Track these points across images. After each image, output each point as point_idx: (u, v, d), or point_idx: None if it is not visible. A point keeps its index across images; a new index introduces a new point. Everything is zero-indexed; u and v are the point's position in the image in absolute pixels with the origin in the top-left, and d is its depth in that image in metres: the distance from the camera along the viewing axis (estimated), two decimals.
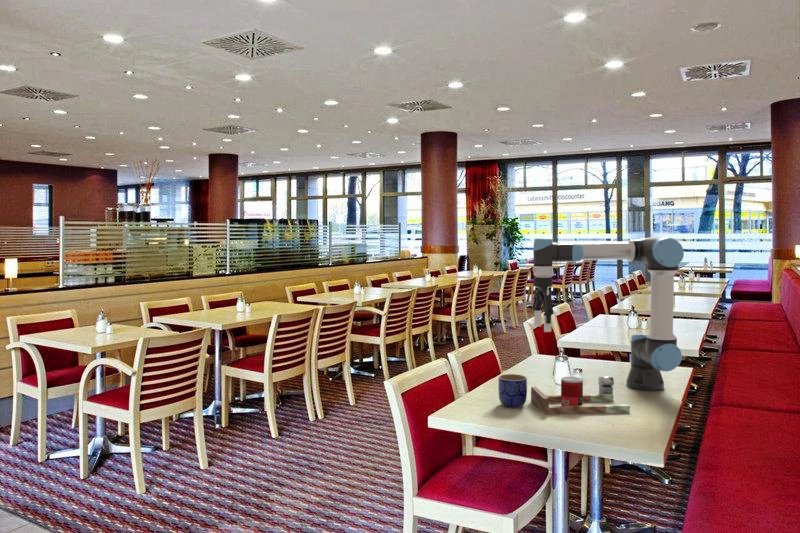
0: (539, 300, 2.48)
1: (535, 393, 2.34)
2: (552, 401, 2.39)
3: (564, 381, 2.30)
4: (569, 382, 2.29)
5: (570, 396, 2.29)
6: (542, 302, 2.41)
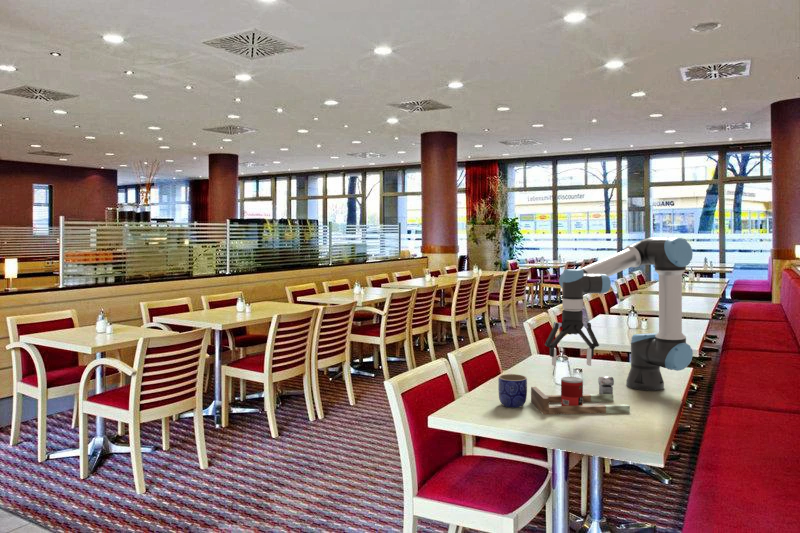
0: (580, 335, 2.31)
1: (535, 393, 2.34)
2: (552, 401, 2.39)
3: (564, 381, 2.30)
4: (569, 382, 2.29)
5: (570, 396, 2.29)
6: None
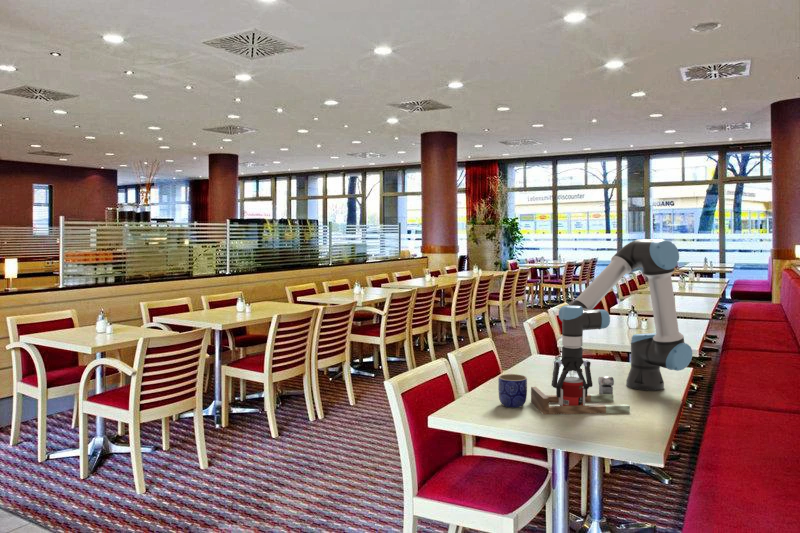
0: (577, 373, 2.32)
1: (535, 393, 2.34)
2: (552, 401, 2.39)
3: (564, 381, 2.30)
4: (569, 382, 2.29)
5: (570, 396, 2.29)
6: None
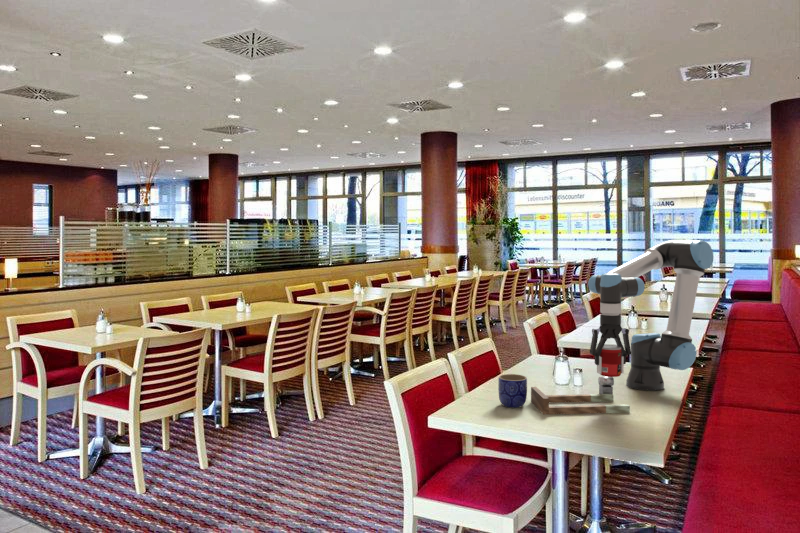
0: (616, 341, 2.32)
1: (535, 393, 2.34)
2: (552, 401, 2.39)
3: (603, 348, 2.30)
4: (608, 349, 2.29)
5: (609, 363, 2.29)
6: None
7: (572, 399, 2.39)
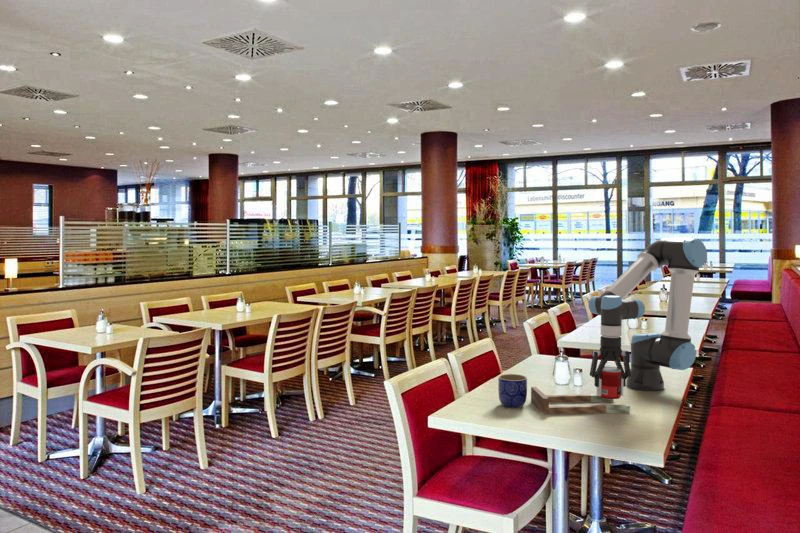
0: (616, 363, 2.33)
1: (535, 393, 2.34)
2: (552, 401, 2.39)
3: (603, 370, 2.31)
4: (608, 371, 2.29)
5: (609, 385, 2.29)
6: None
7: (572, 399, 2.39)
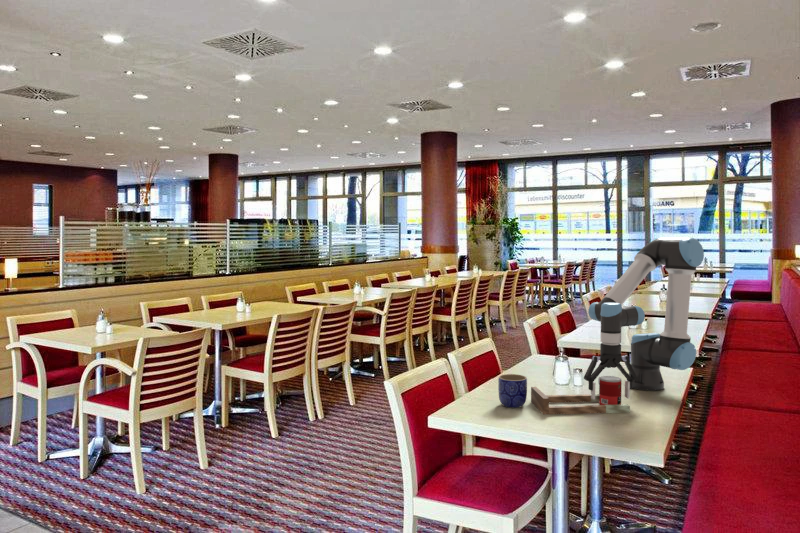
0: (619, 368, 2.33)
1: (535, 393, 2.34)
2: (552, 401, 2.39)
3: (603, 380, 2.31)
4: (608, 381, 2.29)
5: (609, 395, 2.30)
6: None
7: (572, 399, 2.39)
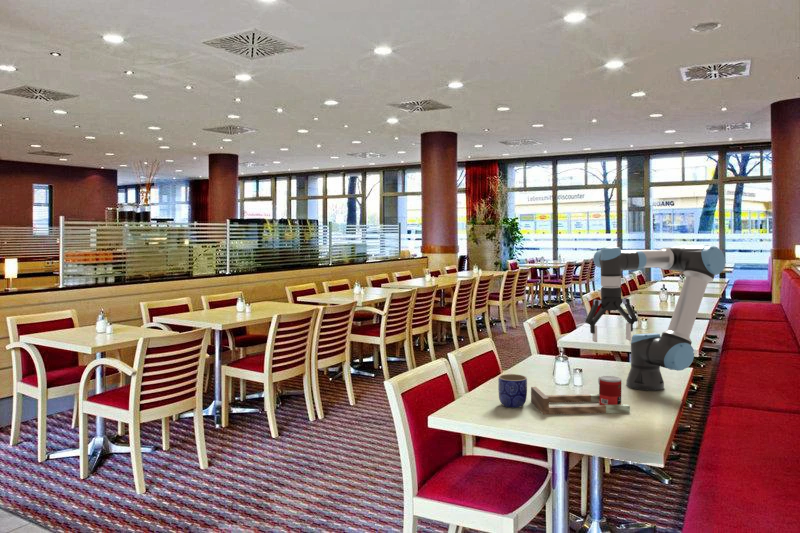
0: (619, 311, 2.37)
1: (535, 393, 2.34)
2: (552, 401, 2.39)
3: (603, 380, 2.31)
4: (608, 381, 2.29)
5: (609, 395, 2.30)
6: None
7: (572, 399, 2.39)
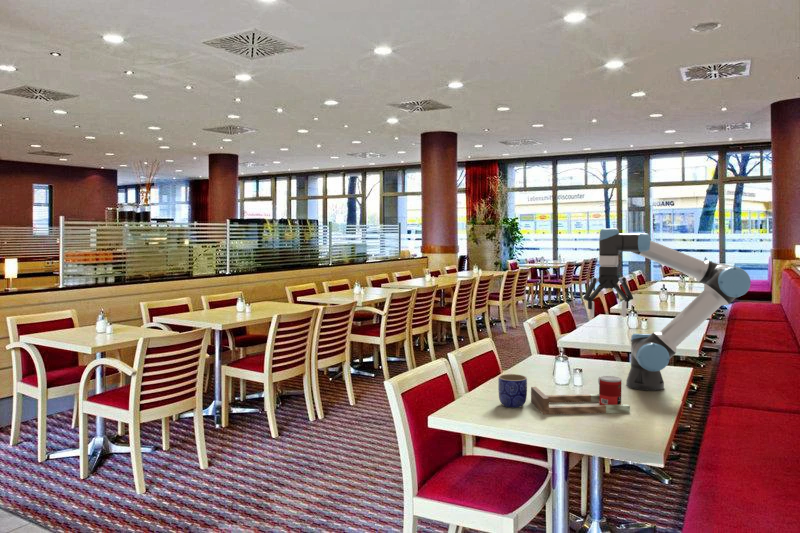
0: (616, 289, 2.52)
1: (535, 393, 2.34)
2: (552, 401, 2.39)
3: (603, 380, 2.31)
4: (608, 381, 2.29)
5: (609, 395, 2.30)
6: None
7: (572, 399, 2.39)
